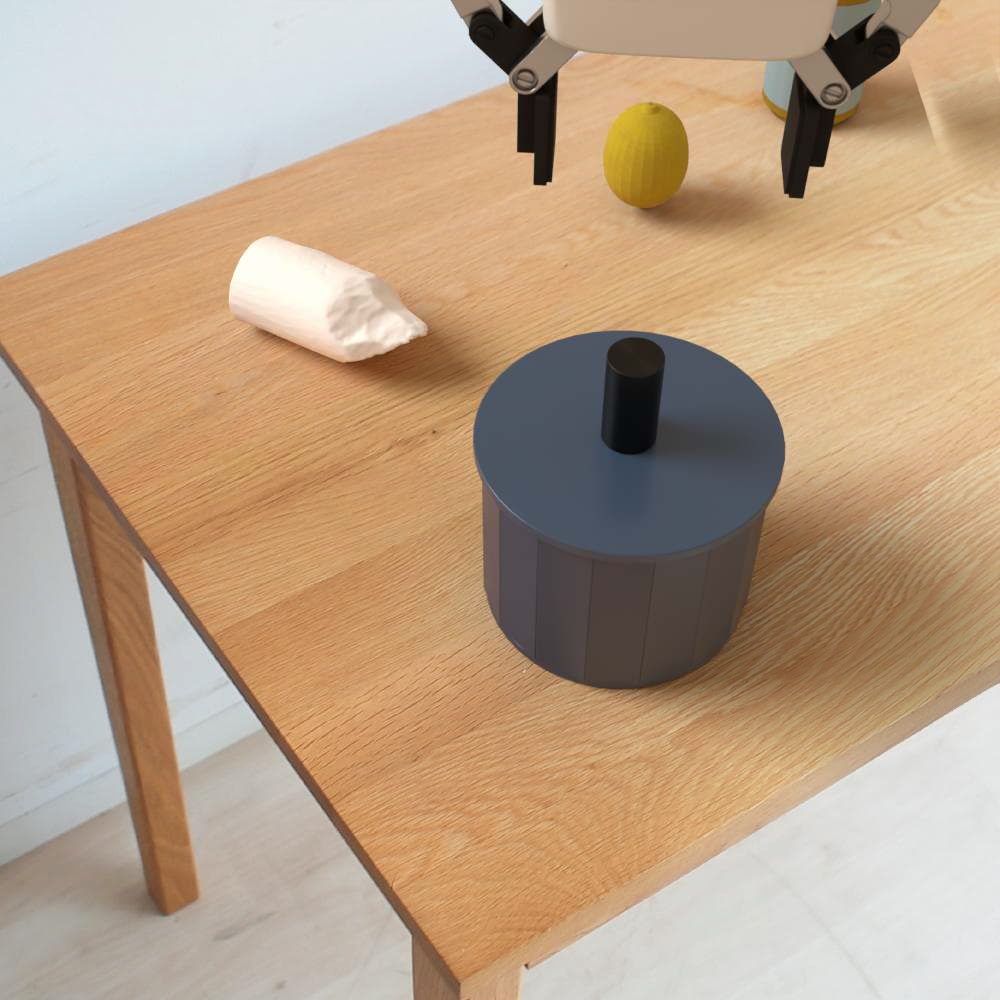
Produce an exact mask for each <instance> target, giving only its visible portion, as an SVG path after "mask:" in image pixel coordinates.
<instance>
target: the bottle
mask: <svg viewBox="0 0 1000 1000" xmlns="http://www.w3.org/2000/svg"><path fill="white" fill-rule="evenodd" d="M882 2H883V0H838V1H837V6H836V11H835V16H834V20H833V24H832V28H831V29H832V30H833V32H834V33H835V35H836V36H837V37H838V38H839V37H840V36H841V35H843V34H844V33H846V32H847V31H848V30H850V29H851V28H852V27H854V26H855V25H857V24H858V23H859V22H861V21H862V20H864V19H865V18H866V17H868V16H869V15H871V14H873V13H875V12H877V10H878V9H879V8H880V6H879V5H880V4H881V3H882ZM794 73H795V70H794V69H793V68H792V66H791V65H790V64H789V62H788V61H787V60H785V61H765V68H764V74H763V81H762V91H761V94H762V95H761V96H762V100H763V102H764V104H766V106H767V107H768V108H769V110H770V111H771V113H772V114H773V115H774V116H776V117H777V118H778V119H779V120H781V121H783V122H786V117H787V111H788V106H789V100H790V94H791V89H792V83H793V78H794ZM864 86H865V82H863V83H862V84H860V85H859V86H857V87H856V88H855V89H853V90H852V91H851V96H850V99H849V100H848V102H847V103H846V104H845V105H843V106H842V107H840V108H837V109H836V114H835V119H834V123H833V126H835V125H838V124H840V123H842V122H844V121H845V120H847V119H848V118H850V117H851V116H853V114H855V112H856V111H858V109H859V105H860V102H861V98H862V94H863V90H864Z"/></svg>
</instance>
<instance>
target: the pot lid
mask: <svg viewBox="0 0 1000 1000" xmlns="http://www.w3.org/2000/svg"><path fill="white" fill-rule="evenodd" d="M475 413H476V414H475V418H474V423H473V427H472V428H473V429H472V450H473V457H474V458H473V459H474V464H475V467H476V470H477V473H478V477H479V479H480V481H481V484H482V483H483V485H484V487H485V488H486V490H487V492H488V494H489V495H490V496H491V498H492V499H493V500H494V502H495V503H496V504H497V506H498V507H499V508H500V509H501V510H502V511H503V512H504V513H505V514H506V515H507V516H508V517H509V518H510V519H511V520H512V521H513V522H515V523H516V524H517V525H518V526H520V527H521V528H522V529H524V530H525V531H526V532H528V533H530V534H531V535H533V536H535V537H536V538H538V539H540V540H541V541H543V542H545V543H547V544H550V545H552V546H554V547H556V548H559V549H561V550H563V551H566V552H570V553H573V554H576V555H579V556H582V557H586V558H591V559H596V560H600V561H607V562H616V563H626V564H648V563H659V562H668V561H673V560H678V559H683V558H688V557H691V556H694V555H697V554H701V553H704V552H707V551H709V550H711V549H714V548H716V547H718V546H720V545H722V544H724V543H726V542H728V541H729V540H731V539H733V538H734V537H736V536H737V535H739V534H741V533H742V532H743V531H744V530H745V529H747V528H748V527H749V526H750V525H751V524H753V523H754V522H755V521H756V520H757V519H758V518H759V516H760V515H761V514H762V513H763V512H764V511H765V510H766V511H767V509H768V507H769V505H770V503H771V502H772V501H773V499H774V497H775V495H776V493H777V492H778V491H777V490H778V488H779V486H780V483H781V481H782V477H783V472H784V466H785V463H786V440H785V434H784V428H783V426H782V423H781V420H780V417H779V414H778V412H777V411H776V408H775V407H774V405H773V403H772V401H771V399H770V398H769V397H768V396H767V394H766V393H765V391H764V390H763V389H762V387H761V386H760V385H759V384H758V383H756V381H755V380H753V378H752V377H751V376H750V375H749V374H747V373H746V372H745V371H744V370H742V369H741V368H740V367H739V366H738V365H736V364H735V363H733V362H732V361H730V360H728V359H727V358H725V357H724V356H722V355H721V354H718V353H717V352H715V351H713V350H711V349H708V348H706V347H704V346H702V345H699V344H696V343H694V342H691V341H689V340H686V339H681V338H678V337H676V336H672V335H668V334H667V335H666V334H662V333H656V332H651V331H638V330H624V329H623V330H618V329H617V330H612V329H611V330H601V331H591V332H586V333H580V334H574V335H570V336H567V337H564V338H560V339H557V340H554V341H552V342H549V343H546V344H544V345H541V346H539V347H537V348H535V349H533V350H531V351H530V352H528V353H526V354H524V355H523V356H521V357H520V358H518V359H517V360H515V361H514V362H512V363H511V364H510V365H508V367H507V368H506V369H504V370H503V371H502V372H501V373H500V374H499V375H498V376H497V377H496V379H495V380H494V381H493V382H492V383H491V385H490V386H489V387H488V389H487V390H486V392H485V393H484V395H483V397H482V399H481V401H480V403H479V405H478V408H477V411H476V412H475Z"/></svg>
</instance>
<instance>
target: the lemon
mask: <svg viewBox="0 0 1000 1000" xmlns="http://www.w3.org/2000/svg"><path fill="white" fill-rule="evenodd" d="M687 134H688V133H687V131H686V128H685V125H684V123H683V122H682V120H681V118H680V117H679V116H678V115H677V114H676V113H675V112H674V111H673V110H672V109H670V108H669V107H668V106H666V105H663V104H661V103H658V102H653V101H646V102H645V101H644V102H640V103H639V102H638V103H635V104H633V105H631V106H629V107H627V108H626V109H624V110H623V111H622V112H620V113H619V114H618V116H617V117H616V118H615V119H614V121H613V122H612V124H611V126H610V128H609V130H608V133H607V136H606V140H605V143H604V147H603V153H602V162H603V174H604V177H605V180H606V182H607V185H608V187H609V189H610V190H611V192H612V194H614V195H615V196H616V197H617V198H618V200H620V201H621V202H623V203H625V204H626V205H628V206H631V207H634V208H638V209H641V210H644V209H648V208H655V207H658V206H660V205H663V204H665V203H666V202H668V201H669V200H670V199H672V197H673V196H675V194H677V192H678V191H679V190H680V188H681V186H682V184H683V182H684V180H685V178H686V175H687V171H688V167H689V158H690V157H689V155H690V154H689V153H690V149H689V147H690V146H689V139H688V135H687Z"/></svg>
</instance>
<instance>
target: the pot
mask: <svg viewBox="0 0 1000 1000" xmlns="http://www.w3.org/2000/svg"><path fill="white" fill-rule="evenodd" d="M481 497H482V498H481V500H482V505H481V506H482V554H483V556H482V560H483V561H482V568H483V588H484V591H485V594H486V599H487V603H488V605H489V609H490V612H491V614H492V617H493V618H494V620H495V623H496V624H497V626H498V628H499V629H500V631H501V632H502V634H503V635H504V636H505V638H506V639H507V640H508V641H509V642H510V643H511V645H512V646H513V647H515V649H516V650H517V651H518V652H520V653H521V654H522V655H523V656H524V657H525V658H526V659H528V660H529V661H531V662H532V663H534V664H535V665H537V666H539V668H542V669H543V670H545V671H547V672H549V673H551V674H553V675H555V676H558V677H559V678H563V679H565V680H568V681H571V682H574V683H577V684H582V685H586V686H591V687H594V686H595V688H596V687H597V688H604V689H612V690H613V689H619V690H620V689H621V690H623V689H624V690H627V689H628V690H630V689H640V688H649V687H653V686H658V685H661V684H665V683H670V682H671V681H674V680H677V679H680V678H682V677H684V676H686V675H688V674H691V673H693V672H694V671H696V670H698V669H700V668H701V667H702V666H704V665H706V663H708V662H710V660H711V659H712V658H715V656H716V655H717V654H719V653H720V651H721V650H722V649H723V648H724V647H725V645H726V644H727V643H728V642H729V641H730V639H731V638H732V636H733V634H734V632H735V631H736V629H737V627H738V625H739V622H740V619H741V617H742V615H743V612H744V610H745V607H746V606H747V602H748V598H749V592H750V588H751V583H752V579H753V575H754V569H755V565H756V560H757V555H758V551H759V546H760V542H761V536H762V531H763V528H764V527H763V526H764V522H765V517H766V512H767V509H766V510H765V511H764V512H763V513H762V514H761V515H760V516H759V518H758V519H757V520H756V521H755V522H754V523H753V524H751V525H750V526H749V527H748V528H747V529H745V530H744V531H743V532H742V533H741V534H739V535H737V536H736V537H734V538H733V539H731V540H729V541H728V542H726V543H724V544H722V545H720V546H718V547H716V548H714V549H711V550H709V551H707V552H704V553H701V554H697V555H694V556H691V557H688V558H683V559H678V560H673V561H668V562H659V563H648V564H626V563H616V562H607V561H600V560H596V559H591V558H586V557H582V556H579V555H576V554H573V553H570V552H566V551H563V550H561V549H559V548H556V547H554V546H552V545H550V544H547V543H545V542H543V541H541V540H540V539H538V538H536V537H535V536H533V535H531V534H530V533H528V532H526V531H525V530H524V529H522V528H521V527H520V526H518V525H517V524H516V523H515V522H513V521H512V520H511V519H510V518H509V517H508V516H507V515H506V514H505V513H504V512H503V511H502V510H501V509H500V508H499V507H498V506H497V504H496V503H495V502H494V500H493V499H492V498H491V496H490V495H489V494H488V492H487V490H486V488H485V487H484V485H483V483H482V482H481Z"/></svg>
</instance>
